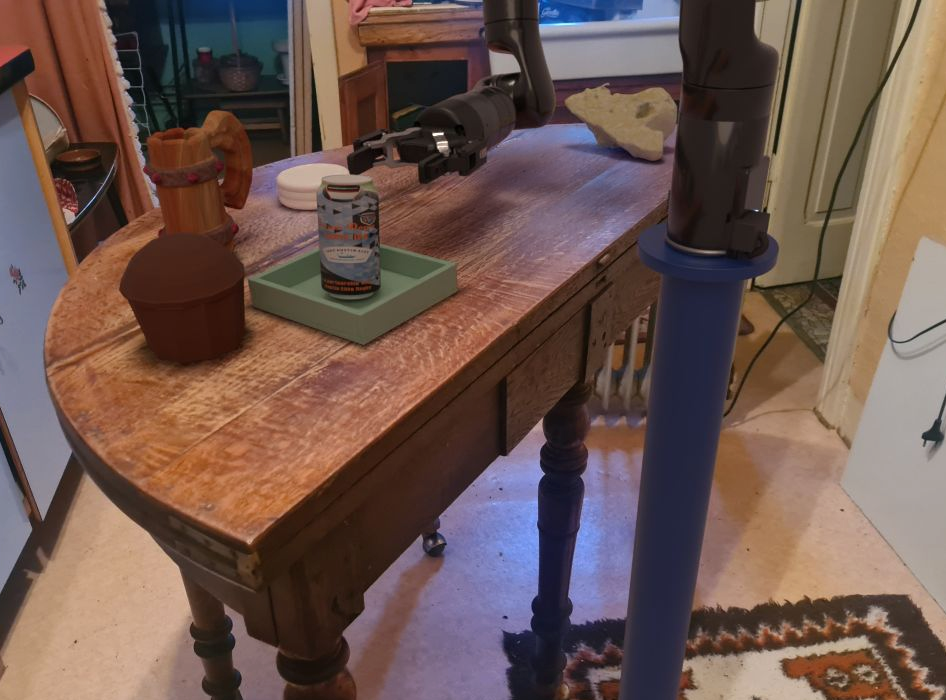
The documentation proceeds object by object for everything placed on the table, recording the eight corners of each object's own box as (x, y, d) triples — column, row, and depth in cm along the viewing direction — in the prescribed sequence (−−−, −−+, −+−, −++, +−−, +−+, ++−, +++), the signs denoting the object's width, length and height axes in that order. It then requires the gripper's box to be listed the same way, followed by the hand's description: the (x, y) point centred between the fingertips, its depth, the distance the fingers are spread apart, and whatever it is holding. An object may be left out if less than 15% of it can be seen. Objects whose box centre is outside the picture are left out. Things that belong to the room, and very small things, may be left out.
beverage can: (315, 306, 86) (297, 188, 79) (337, 277, 92) (322, 165, 85) (375, 309, 85) (362, 190, 78) (393, 280, 91) (383, 166, 84)
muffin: (260, 360, 78) (240, 256, 73) (134, 378, 76) (103, 273, 71) (253, 307, 88) (235, 212, 82) (141, 322, 86) (114, 226, 80)
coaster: (269, 195, 118) (265, 170, 116) (337, 183, 122) (333, 158, 120) (294, 216, 111) (290, 189, 109) (364, 202, 115) (362, 175, 113)
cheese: (692, 167, 129) (662, 86, 133) (692, 141, 122) (661, 55, 126) (594, 202, 132) (568, 120, 136) (589, 177, 125) (562, 93, 129)
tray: (458, 291, 90) (456, 263, 88) (363, 345, 80) (360, 315, 79) (350, 260, 98) (346, 234, 96) (252, 306, 88) (247, 278, 86)
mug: (201, 280, 94) (170, 140, 86) (148, 268, 98) (113, 132, 89) (286, 236, 105) (265, 108, 96) (236, 226, 108) (212, 102, 100)
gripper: (402, 94, 101) (323, 127, 89) (512, 102, 95) (444, 138, 83) (407, 158, 105) (332, 198, 93) (513, 170, 99) (448, 213, 88)
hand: (385, 170), depth 88 cm, fingers open, 8 cm apart
